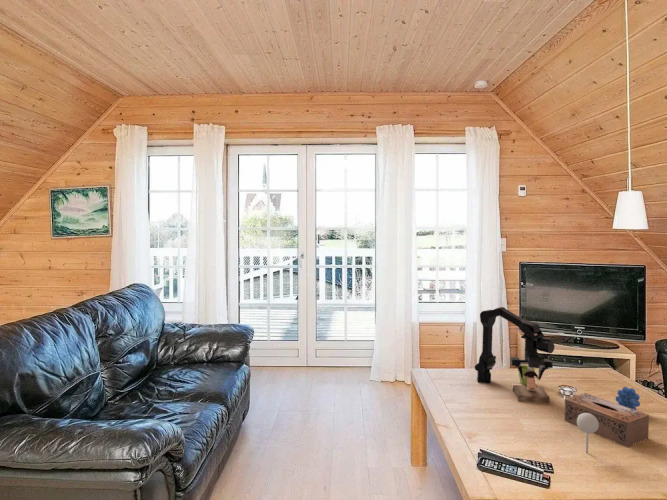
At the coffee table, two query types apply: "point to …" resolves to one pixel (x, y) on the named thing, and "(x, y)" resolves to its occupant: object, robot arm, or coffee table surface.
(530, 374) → the grandmother figurine
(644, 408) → the coffee table surface
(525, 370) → the plant pot
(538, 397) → the walnut base
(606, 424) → the tissue box cover
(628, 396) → the blue flower
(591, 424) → the lollipop
